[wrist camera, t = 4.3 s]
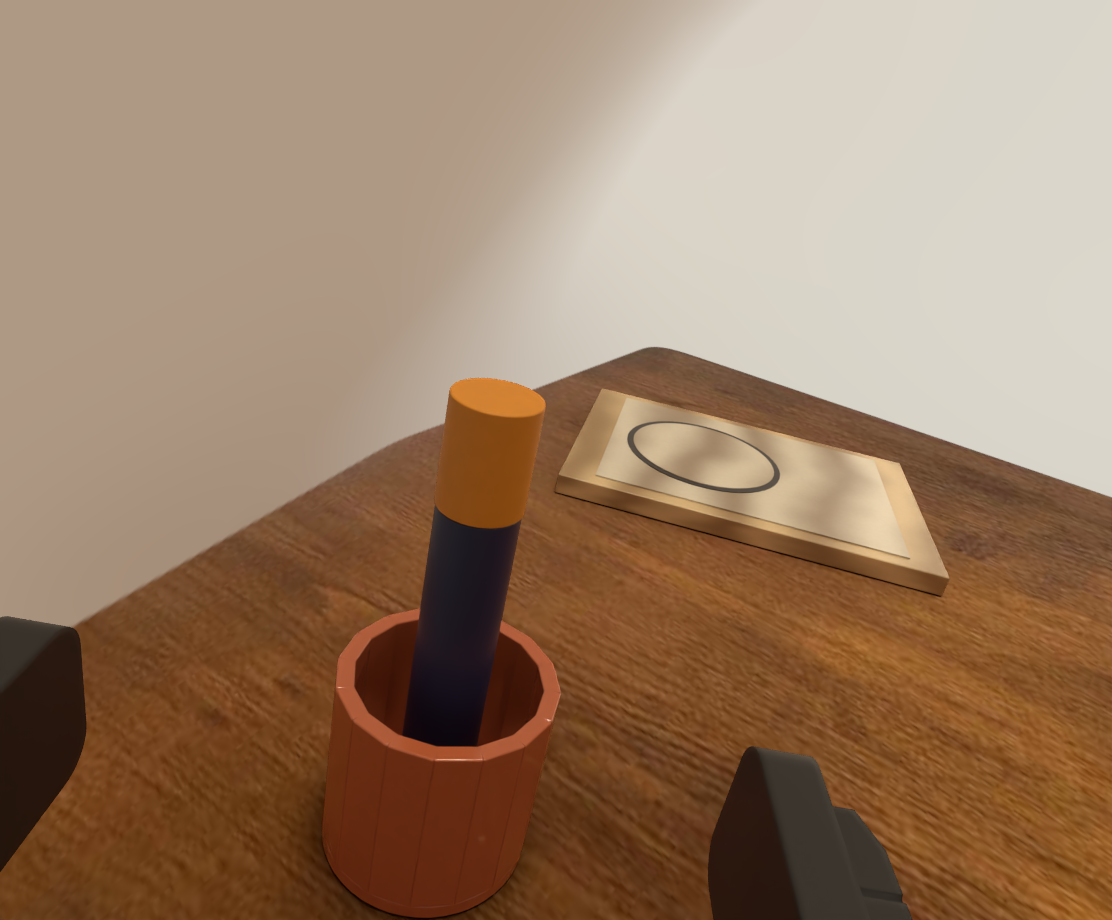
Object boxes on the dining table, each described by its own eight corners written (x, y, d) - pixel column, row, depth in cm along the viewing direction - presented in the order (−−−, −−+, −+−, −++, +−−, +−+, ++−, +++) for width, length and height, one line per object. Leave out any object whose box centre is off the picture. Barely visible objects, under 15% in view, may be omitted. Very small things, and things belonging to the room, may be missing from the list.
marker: (377, 831, 24) (436, 399, 19) (405, 775, 27) (467, 370, 21) (450, 855, 24) (533, 424, 18) (473, 796, 26) (555, 392, 20)
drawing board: (554, 492, 47) (558, 470, 47) (598, 402, 62) (602, 385, 61) (942, 596, 45) (951, 575, 44) (893, 478, 59) (900, 460, 59)
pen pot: (282, 878, 23) (293, 717, 21) (372, 728, 29) (389, 587, 26) (492, 948, 22) (531, 790, 20) (542, 781, 28) (577, 641, 25)
